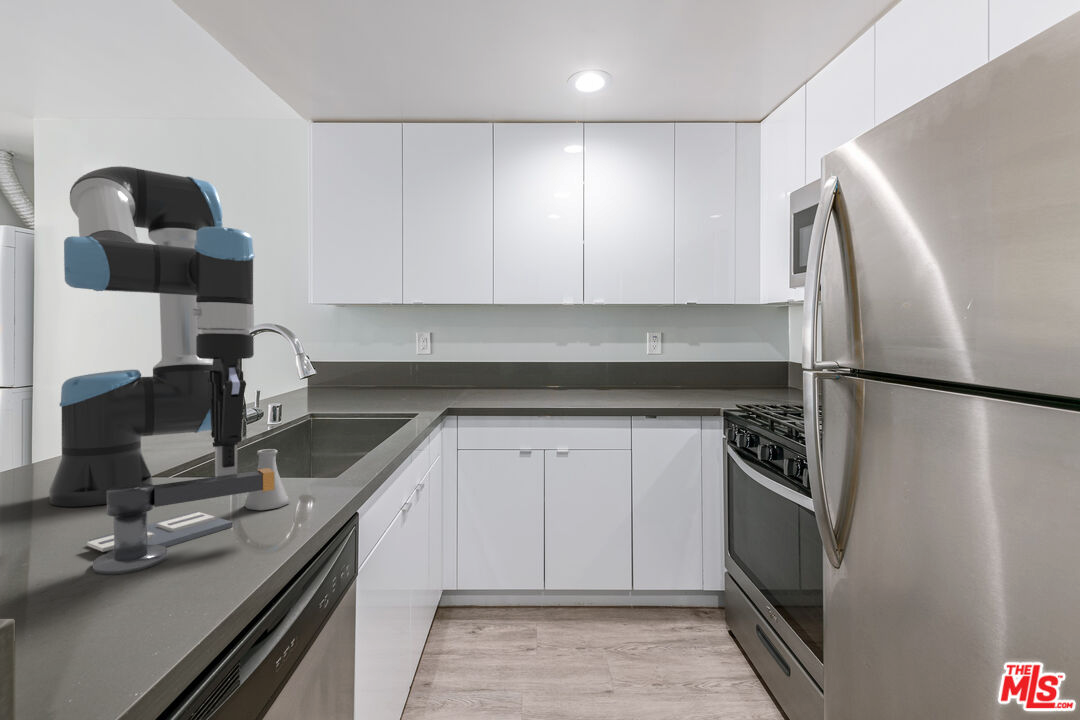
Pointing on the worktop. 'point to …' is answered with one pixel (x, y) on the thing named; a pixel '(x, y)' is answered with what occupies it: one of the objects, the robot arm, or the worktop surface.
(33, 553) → the worktop surface
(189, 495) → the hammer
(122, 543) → the round pedestal stand
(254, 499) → the flask
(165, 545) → the label board
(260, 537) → the worktop surface
